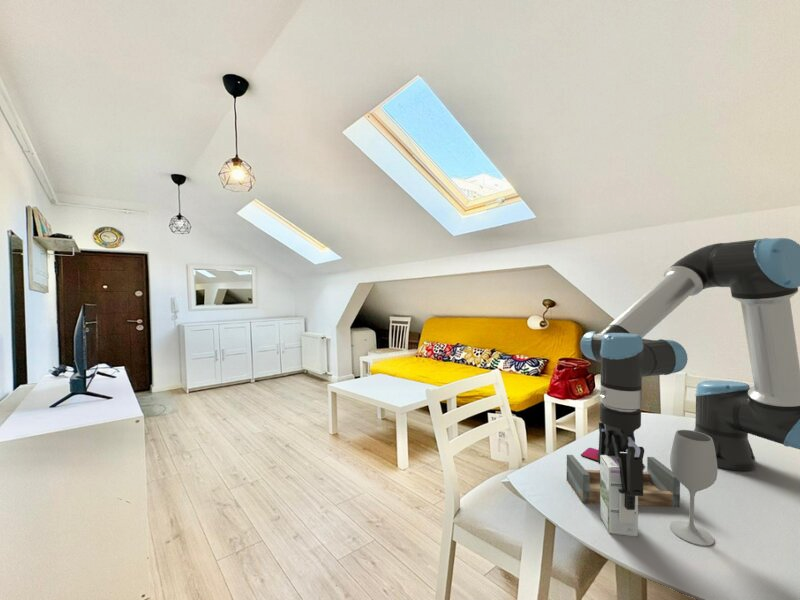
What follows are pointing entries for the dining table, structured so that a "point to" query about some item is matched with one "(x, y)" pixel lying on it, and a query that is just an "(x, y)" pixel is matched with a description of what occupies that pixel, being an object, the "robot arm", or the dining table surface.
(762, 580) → the dining table surface
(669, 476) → the track
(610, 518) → the syrup box
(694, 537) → the wineglass
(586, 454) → the smartphone
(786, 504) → the dining table surface
